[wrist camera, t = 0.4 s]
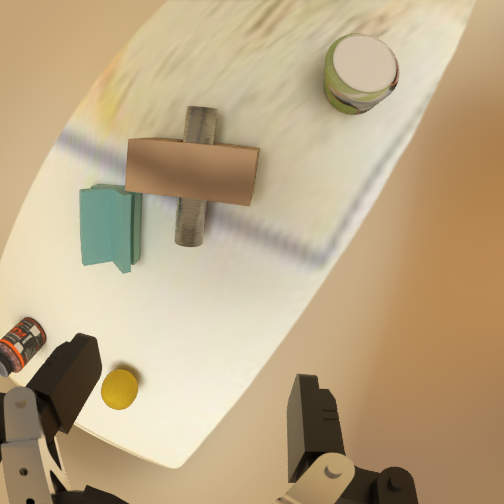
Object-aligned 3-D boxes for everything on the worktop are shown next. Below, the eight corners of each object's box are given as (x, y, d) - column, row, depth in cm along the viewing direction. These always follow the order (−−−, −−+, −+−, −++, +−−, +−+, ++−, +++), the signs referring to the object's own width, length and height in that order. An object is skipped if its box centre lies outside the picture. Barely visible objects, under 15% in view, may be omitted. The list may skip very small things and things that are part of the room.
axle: (191, 108, 30) (184, 105, 27) (219, 110, 30) (215, 108, 27) (178, 235, 35) (171, 244, 32) (205, 239, 35) (199, 248, 32)
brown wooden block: (153, 137, 33) (128, 139, 27) (259, 148, 33) (257, 150, 27) (147, 225, 37) (124, 244, 30) (246, 239, 37) (241, 262, 30)
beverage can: (373, 118, 31) (420, 113, 20) (308, 110, 31) (329, 97, 20) (375, 66, 29) (420, 40, 18) (311, 57, 29) (330, 20, 18)
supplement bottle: (38, 316, 43) (0, 353, 33) (51, 345, 45) (18, 385, 35) (17, 316, 44) (-19, 350, 33) (30, 343, 46) (-2, 380, 35)
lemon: (143, 389, 47) (127, 423, 39) (113, 378, 47) (94, 410, 39) (145, 366, 45) (128, 402, 37) (113, 354, 45) (92, 388, 37)
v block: (96, 183, 35) (76, 190, 31) (145, 188, 35) (128, 195, 31) (96, 251, 38) (79, 264, 34) (142, 259, 38) (128, 274, 34)
